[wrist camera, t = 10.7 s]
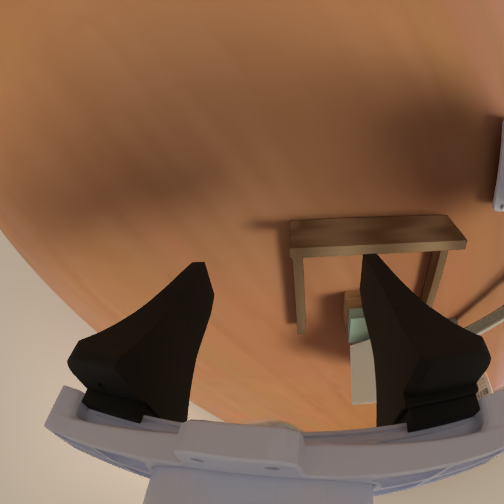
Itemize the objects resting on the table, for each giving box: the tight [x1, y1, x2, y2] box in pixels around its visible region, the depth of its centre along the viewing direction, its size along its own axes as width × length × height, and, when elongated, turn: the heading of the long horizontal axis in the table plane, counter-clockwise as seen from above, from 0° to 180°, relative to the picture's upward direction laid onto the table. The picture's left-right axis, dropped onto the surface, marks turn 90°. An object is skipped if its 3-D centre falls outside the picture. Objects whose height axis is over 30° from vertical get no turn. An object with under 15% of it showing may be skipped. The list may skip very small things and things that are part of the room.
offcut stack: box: [344, 290, 370, 343], centre depth 26 cm, size 5×4×4 cm
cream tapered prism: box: [350, 339, 377, 405], centre depth 25 cm, size 4×6×8 cm
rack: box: [289, 215, 467, 334], centre depth 23 cm, size 14×12×4 cm
